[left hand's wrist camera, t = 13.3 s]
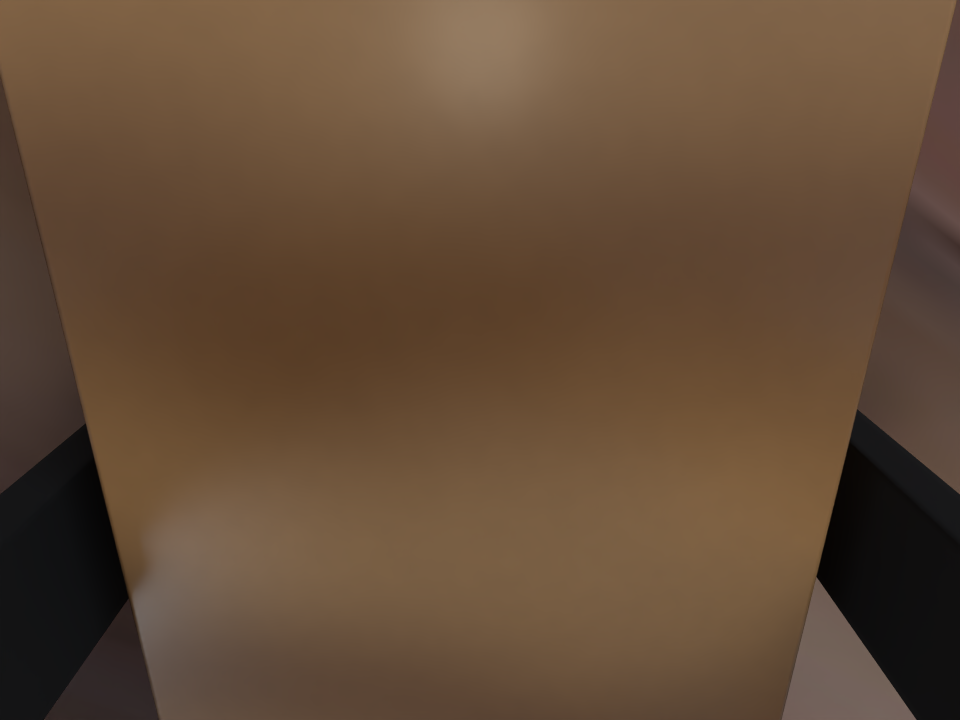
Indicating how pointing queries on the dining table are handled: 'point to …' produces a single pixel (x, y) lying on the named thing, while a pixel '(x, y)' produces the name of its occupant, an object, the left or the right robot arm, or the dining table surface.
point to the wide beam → (470, 333)
